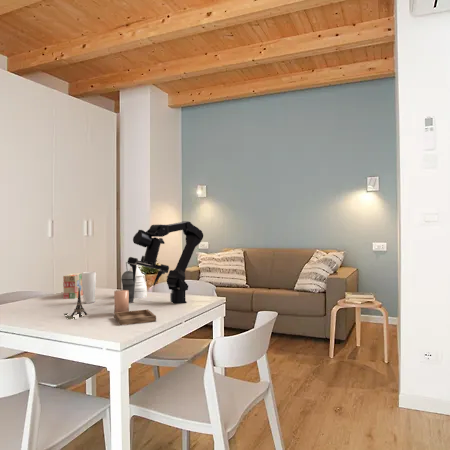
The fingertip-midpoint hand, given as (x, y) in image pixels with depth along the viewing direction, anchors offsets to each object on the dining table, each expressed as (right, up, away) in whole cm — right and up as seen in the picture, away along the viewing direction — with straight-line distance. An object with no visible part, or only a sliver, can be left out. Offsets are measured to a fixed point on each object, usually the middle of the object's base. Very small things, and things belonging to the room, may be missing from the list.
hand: (143, 283), depth 181 cm
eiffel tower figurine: (-26, -13, -11) cm, 31 cm away
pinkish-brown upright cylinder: (-8, -12, -9) cm, 17 cm away
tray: (0, -12, -19) cm, 23 cm away
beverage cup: (-11, -12, +18) cm, 25 cm away
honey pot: (-12, -12, +35) cm, 39 cm away
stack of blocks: (-45, -13, +41) cm, 62 cm away
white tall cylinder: (-31, -12, +18) cm, 38 cm away
